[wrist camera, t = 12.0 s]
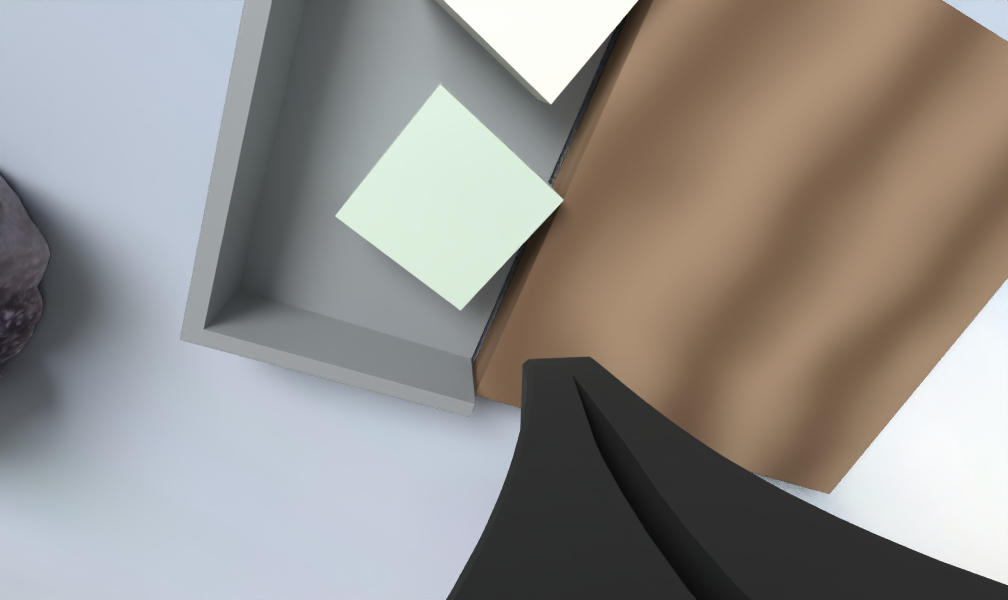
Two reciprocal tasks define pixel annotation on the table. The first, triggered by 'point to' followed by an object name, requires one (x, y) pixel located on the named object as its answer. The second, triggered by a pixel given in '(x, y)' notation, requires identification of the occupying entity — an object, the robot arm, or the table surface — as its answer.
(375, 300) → the box
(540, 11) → the cream tile
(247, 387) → the table surface
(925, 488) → the table surface
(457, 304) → the sage tile
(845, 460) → the walnut plate
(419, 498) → the table surface
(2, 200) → the crystal cluster
